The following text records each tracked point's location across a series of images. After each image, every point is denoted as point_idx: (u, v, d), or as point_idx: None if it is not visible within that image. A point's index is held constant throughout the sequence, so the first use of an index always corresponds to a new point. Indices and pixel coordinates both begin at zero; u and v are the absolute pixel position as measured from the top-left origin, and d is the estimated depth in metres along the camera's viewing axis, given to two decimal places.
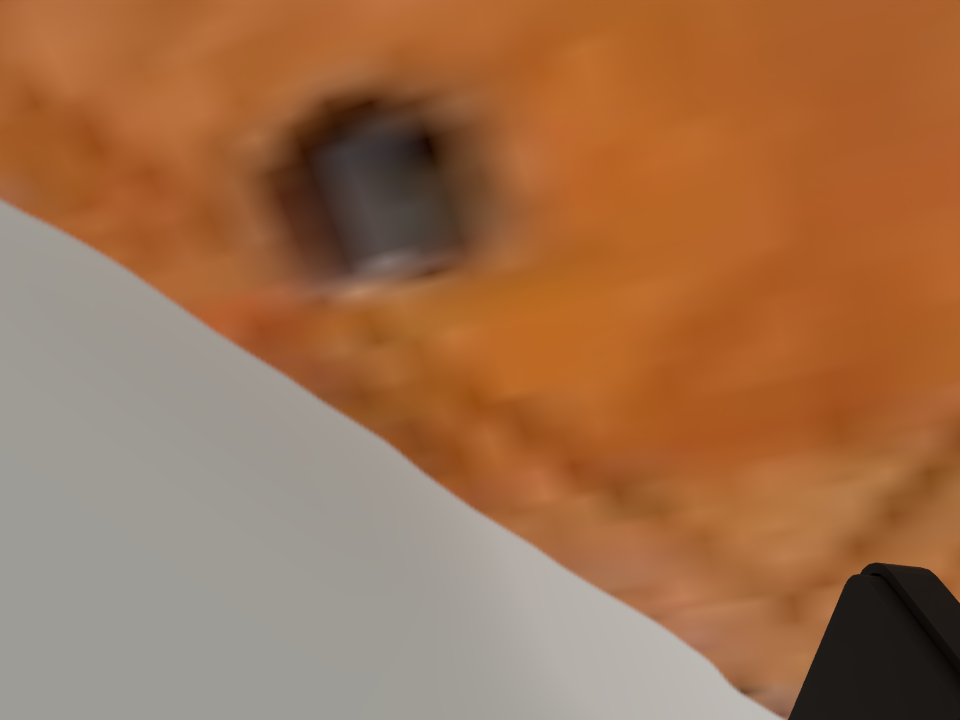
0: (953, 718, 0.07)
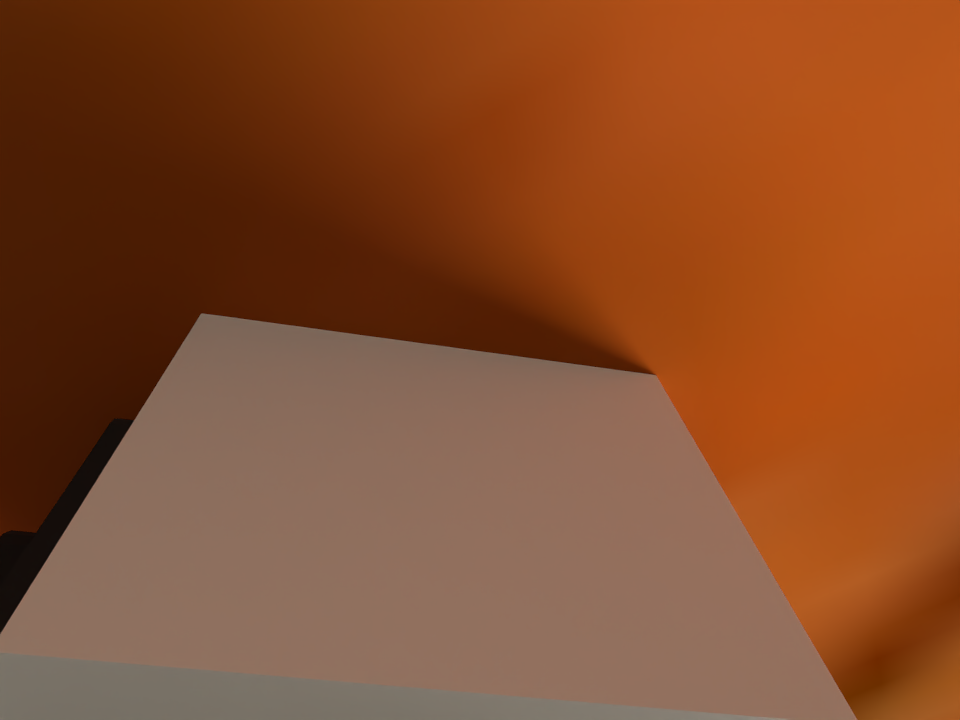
0: None
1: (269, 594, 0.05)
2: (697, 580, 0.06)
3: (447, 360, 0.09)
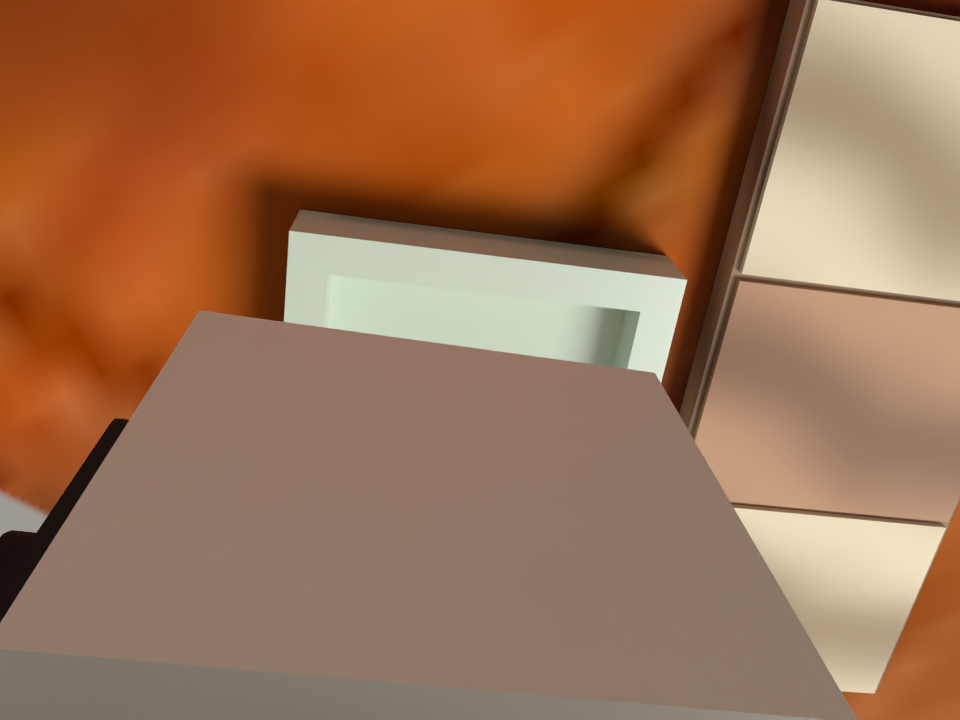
0: None
1: (266, 592, 0.05)
2: (696, 577, 0.06)
3: (446, 359, 0.09)
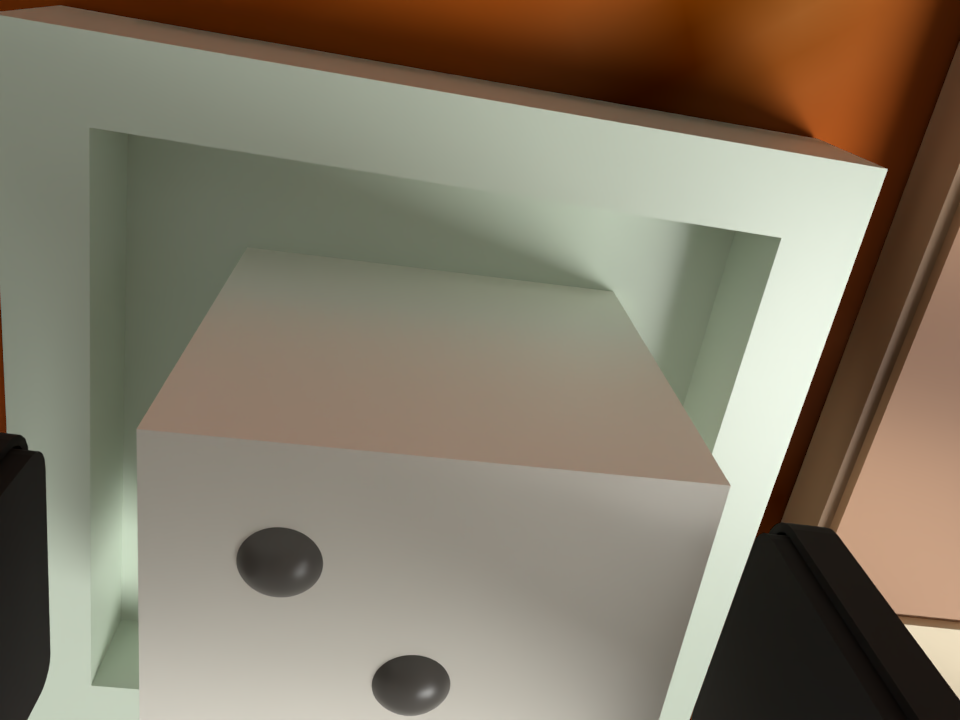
0: (833, 661, 0.08)
1: (318, 408, 0.08)
2: (627, 410, 0.09)
3: (444, 280, 0.12)
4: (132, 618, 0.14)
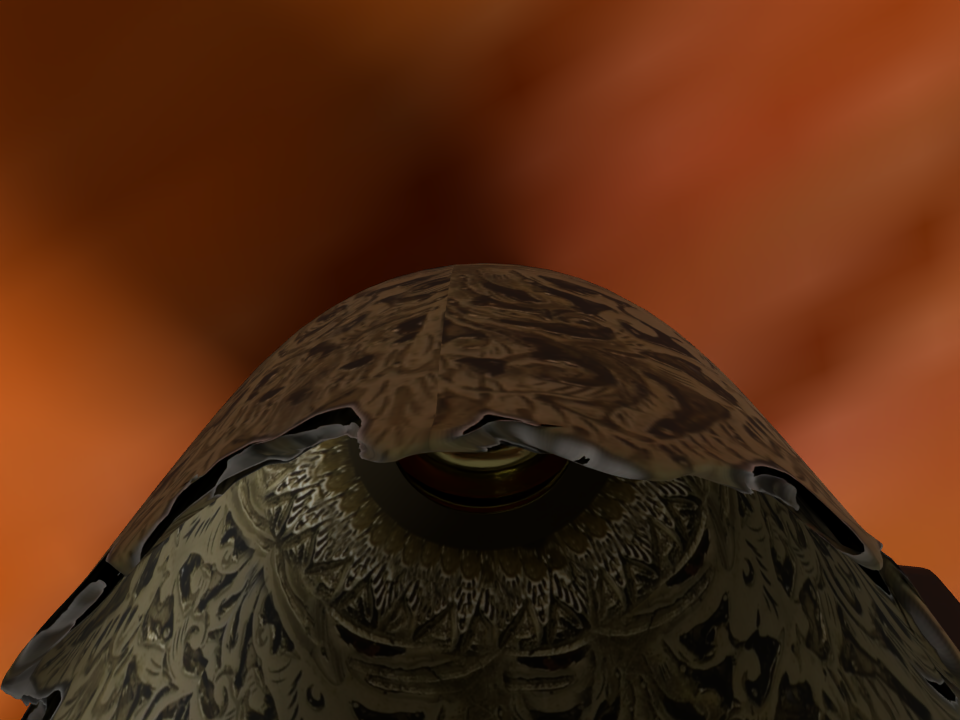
0: None
1: None
2: None
3: None
4: None
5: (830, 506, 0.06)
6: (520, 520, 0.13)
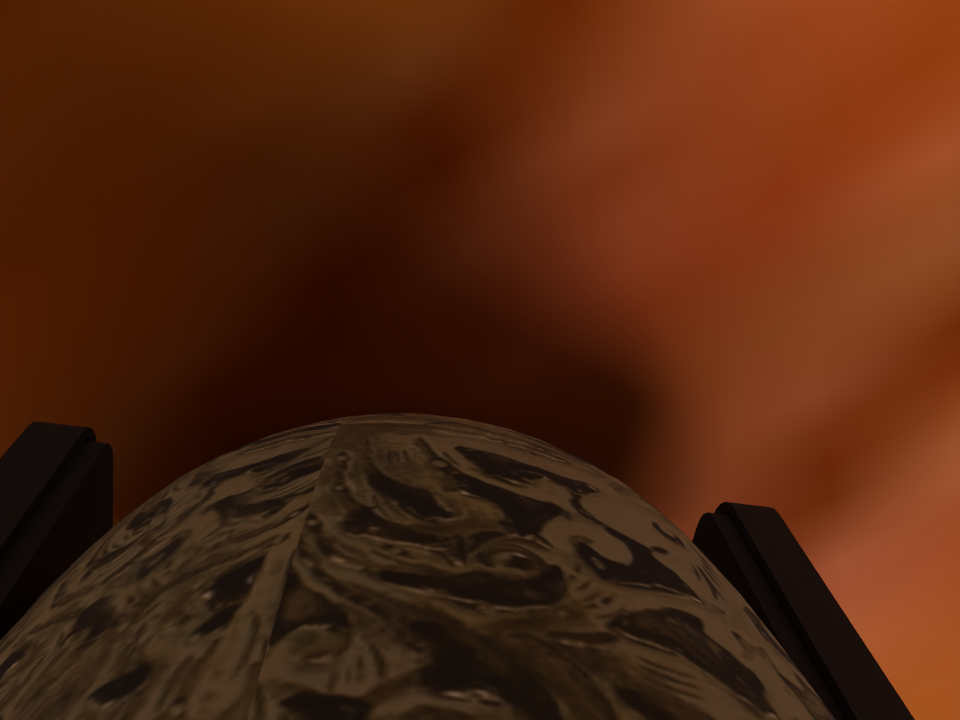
0: None
1: None
2: None
3: None
4: None
5: None
6: None
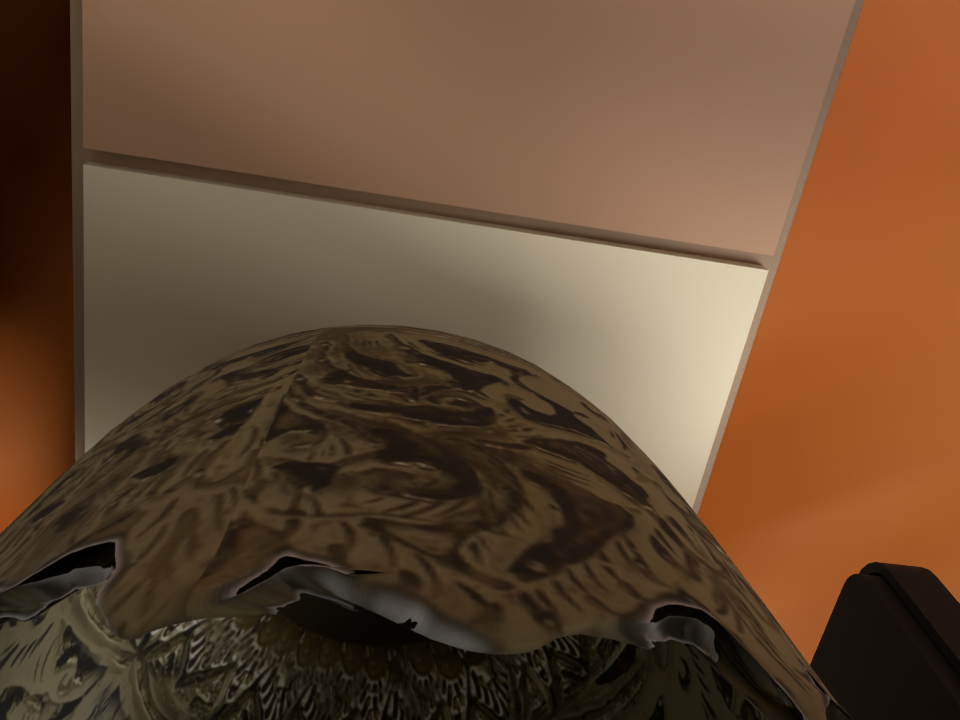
0: (952, 717, 0.07)
1: None
2: None
3: None
4: None
5: (759, 653, 0.04)
6: None
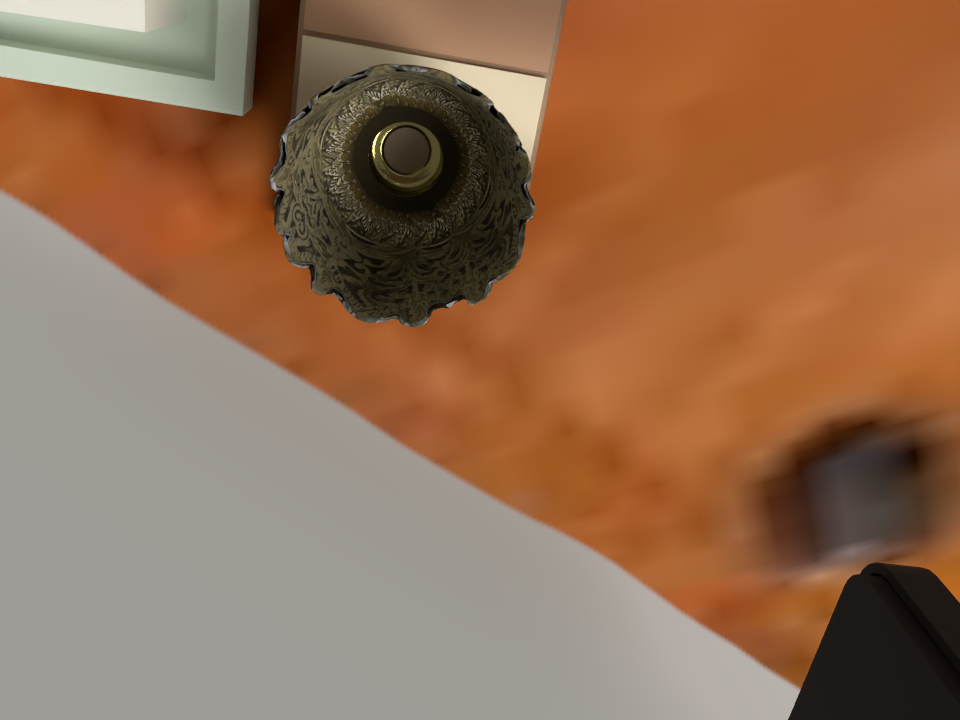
0: (953, 718, 0.07)
1: None
2: None
3: None
4: None
5: (479, 91, 0.24)
6: (422, 198, 0.31)
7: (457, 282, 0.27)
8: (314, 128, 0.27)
